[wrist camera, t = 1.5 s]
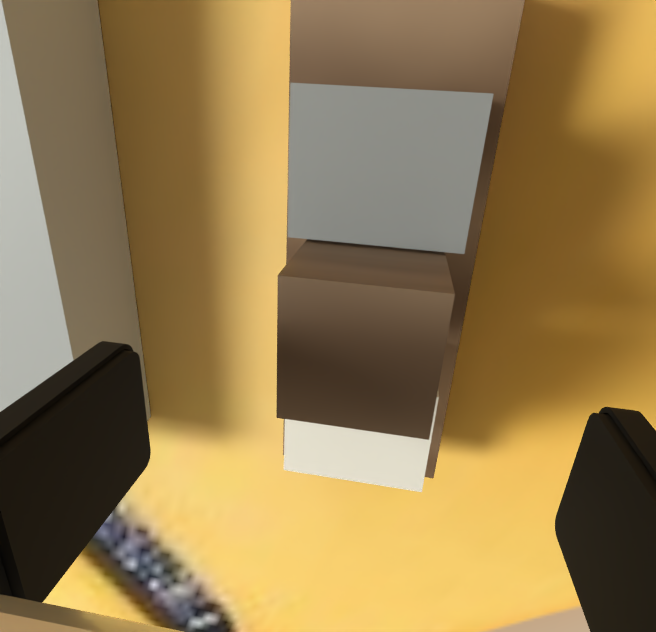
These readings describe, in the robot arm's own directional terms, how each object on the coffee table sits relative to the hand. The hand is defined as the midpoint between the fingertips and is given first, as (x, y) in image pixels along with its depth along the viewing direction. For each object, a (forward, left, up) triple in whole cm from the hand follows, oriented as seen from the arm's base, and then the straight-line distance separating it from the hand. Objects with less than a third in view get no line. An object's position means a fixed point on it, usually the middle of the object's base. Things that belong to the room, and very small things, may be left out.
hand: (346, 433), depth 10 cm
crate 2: (+4, 0, -9) cm, 10 cm away
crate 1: (-5, 0, -9) cm, 10 cm away
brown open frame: (-1, 0, -12) cm, 12 cm away
